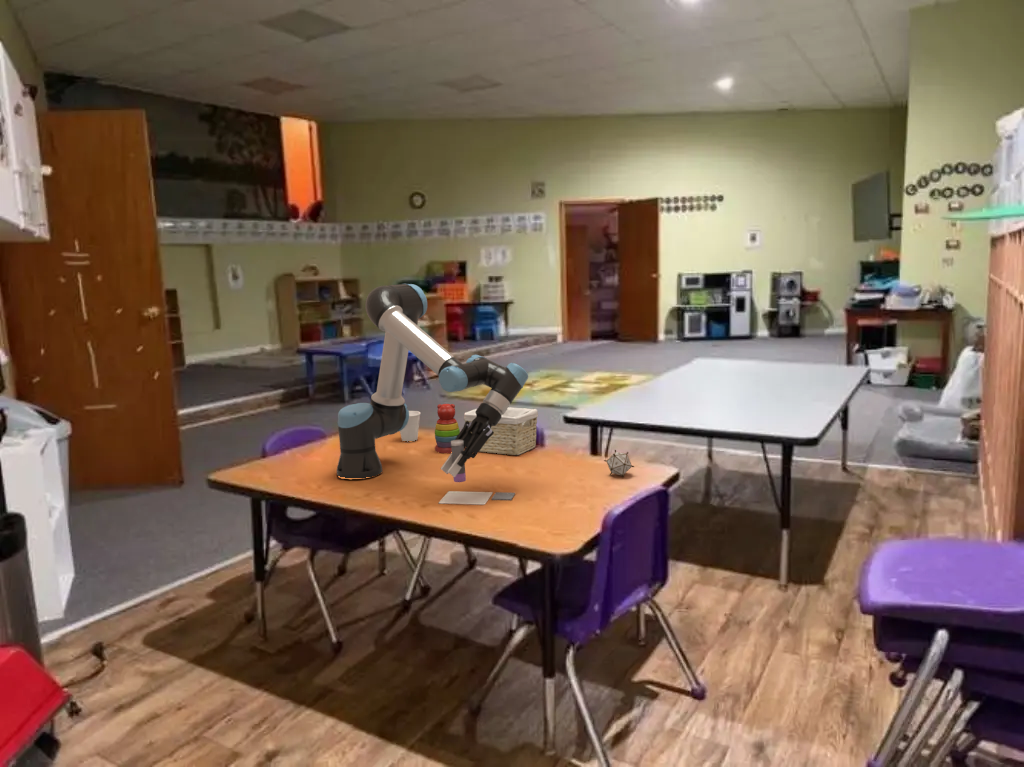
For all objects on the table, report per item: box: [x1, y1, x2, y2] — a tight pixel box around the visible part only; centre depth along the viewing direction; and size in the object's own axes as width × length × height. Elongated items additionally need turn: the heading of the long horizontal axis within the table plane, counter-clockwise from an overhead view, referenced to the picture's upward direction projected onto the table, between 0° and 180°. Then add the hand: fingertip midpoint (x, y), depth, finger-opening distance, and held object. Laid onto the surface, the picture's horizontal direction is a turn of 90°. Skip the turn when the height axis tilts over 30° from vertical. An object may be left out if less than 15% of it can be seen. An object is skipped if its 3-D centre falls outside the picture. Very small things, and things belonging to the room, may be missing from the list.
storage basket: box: [463, 406, 539, 456], centre depth 278 cm, size 24×16×15 cm
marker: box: [451, 440, 467, 483], centre depth 221 cm, size 4×4×12 cm
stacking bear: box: [434, 403, 461, 454], centre depth 279 cm, size 11×10×18 cm
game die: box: [603, 449, 635, 478], centre depth 240 cm, size 9×8×10 cm
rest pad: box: [491, 491, 516, 501], centre depth 224 cm, size 6×6×1 cm
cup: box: [399, 410, 422, 443], centre depth 297 cm, size 10×10×11 cm
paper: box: [438, 490, 494, 506], centre depth 224 cm, size 14×11×1 cm
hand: (447, 472), depth 220 cm, fingers closed on marker, 3 cm apart
